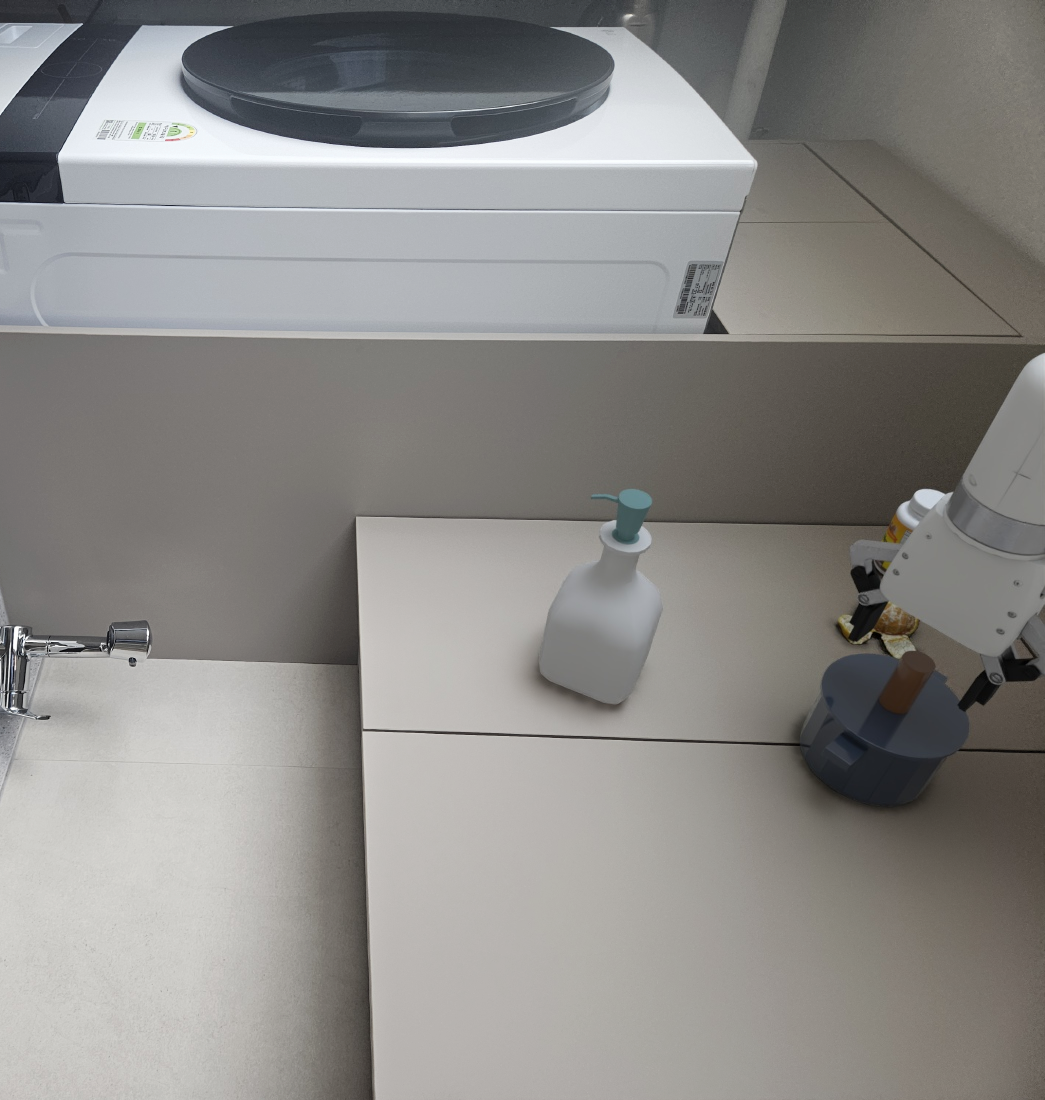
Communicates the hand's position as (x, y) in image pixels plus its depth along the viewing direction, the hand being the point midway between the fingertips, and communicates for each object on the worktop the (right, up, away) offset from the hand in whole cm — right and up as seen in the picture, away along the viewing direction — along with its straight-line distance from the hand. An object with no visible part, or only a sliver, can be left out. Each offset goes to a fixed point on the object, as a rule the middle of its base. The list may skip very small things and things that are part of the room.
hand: (912, 666), depth 82 cm
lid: (0, -4, +3) cm, 5 cm away
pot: (0, -10, +8) cm, 13 cm away
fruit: (+9, +1, +21) cm, 23 cm away
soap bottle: (-23, -2, +17) cm, 29 cm away
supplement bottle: (+16, +8, +28) cm, 33 cm away
